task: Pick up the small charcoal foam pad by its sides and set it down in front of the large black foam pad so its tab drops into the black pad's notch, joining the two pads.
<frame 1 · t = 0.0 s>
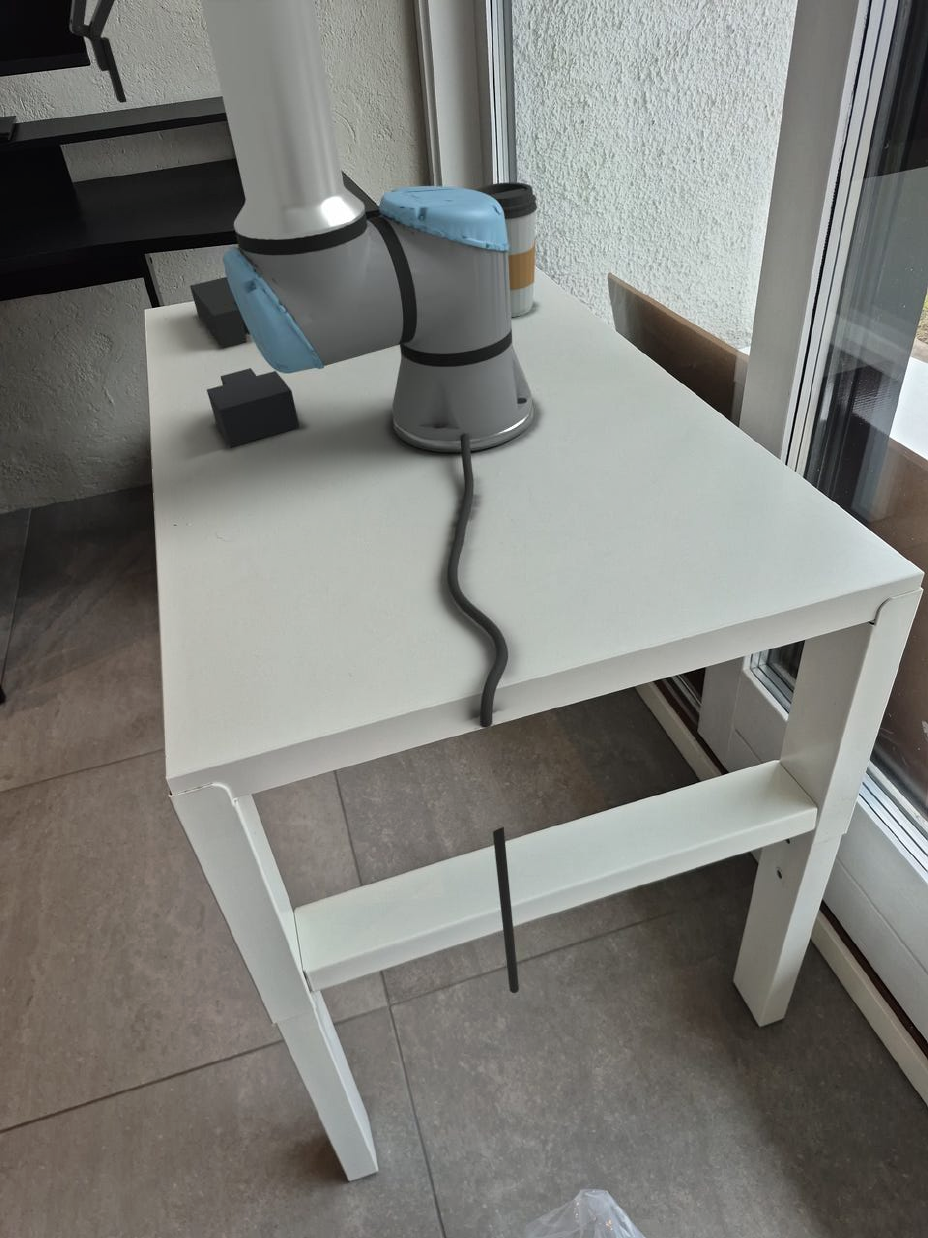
hand: (176, 91, 112), 28 cm above the table, tool pointing down, fingers open, 13 cm apart
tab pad: (258, 426, 102), on the table
coffee cup: (509, 310, 122), on the table
notched pad: (251, 321, 127), on the table
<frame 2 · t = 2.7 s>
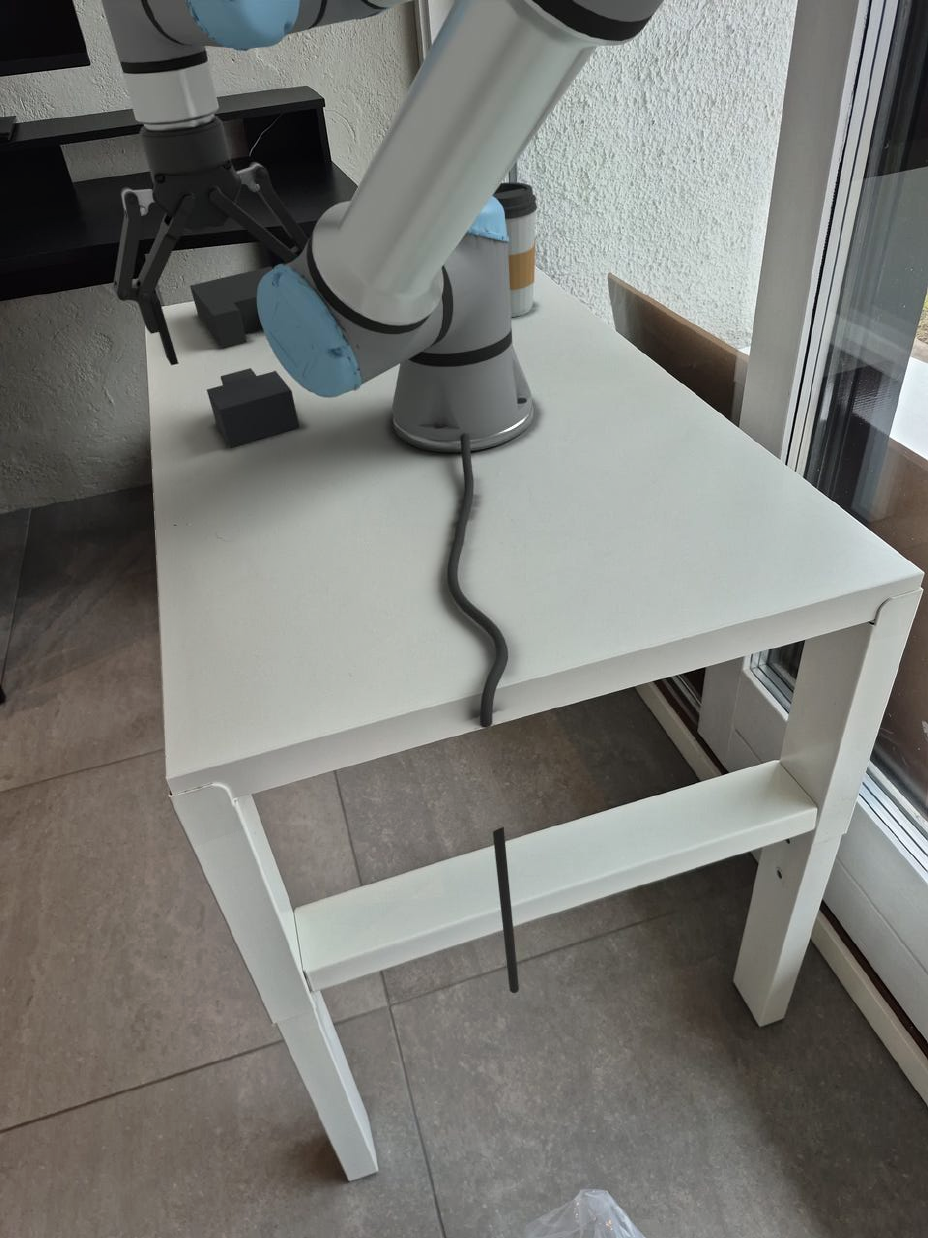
hand: (236, 344, 96), 10 cm above the table, tool pointing down, fingers open, 13 cm apart
nothing on the table moved.
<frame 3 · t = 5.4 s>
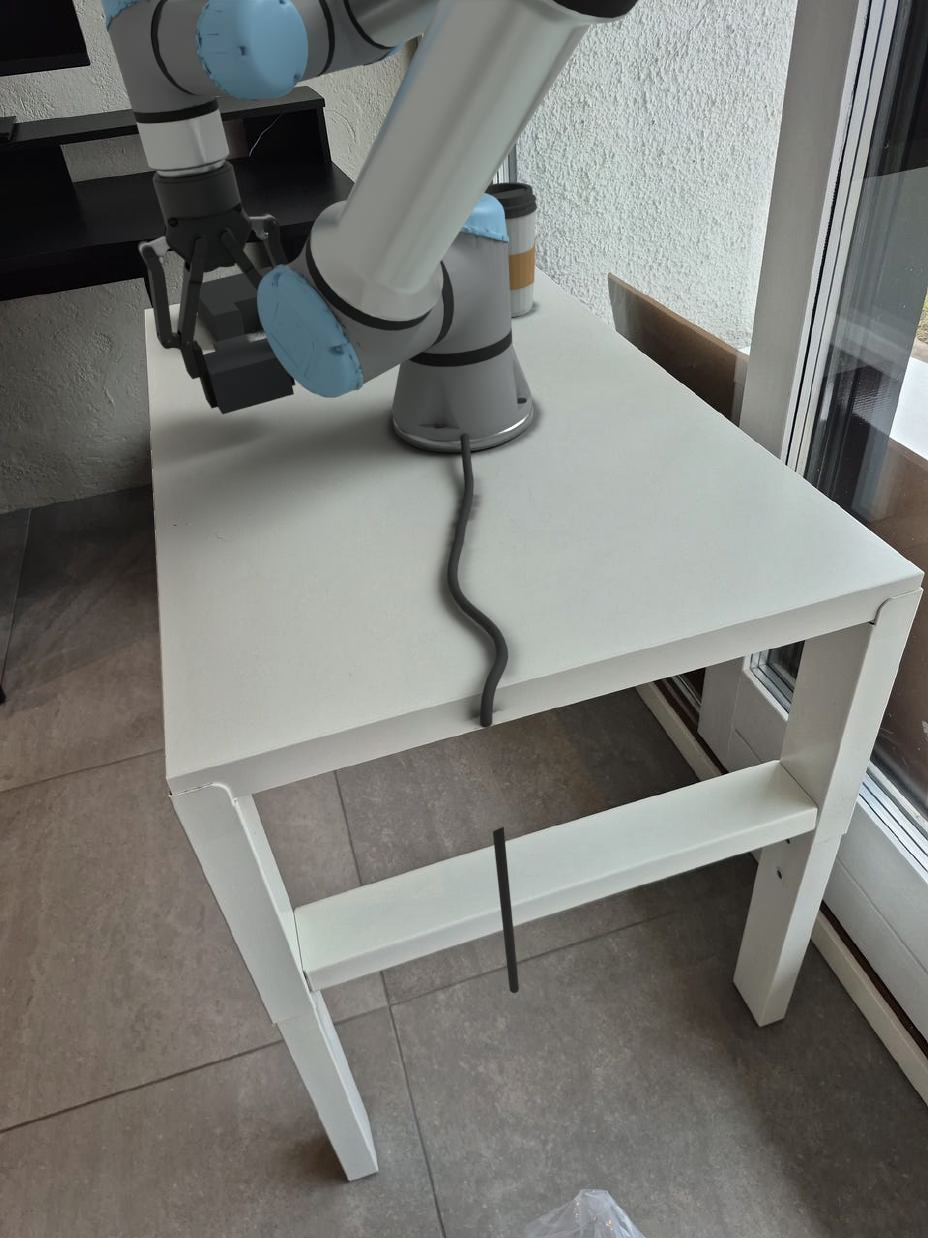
hand: (250, 391, 99), 4 cm above the table, tool pointing down, fingers closed on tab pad, 8 cm apart
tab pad: (251, 394, 99), point 4 cm above the table, touching gripper
everything else where it was.
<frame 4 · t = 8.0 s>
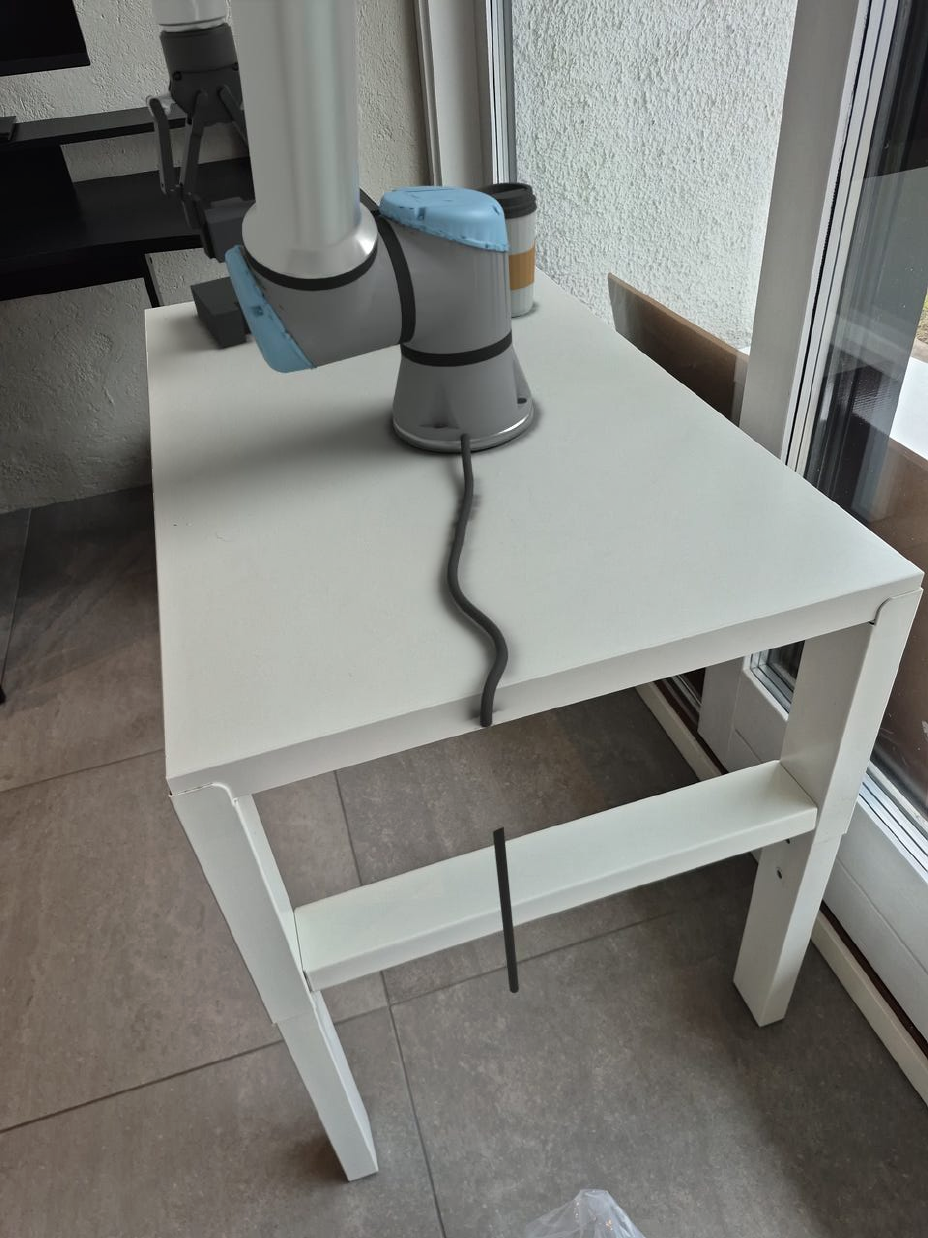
hand: (245, 246, 109), 13 cm above the table, tool pointing down, fingers closed on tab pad, 8 cm apart
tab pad: (245, 249, 109), point 13 cm above the table, touching gripper
everything else where it was.
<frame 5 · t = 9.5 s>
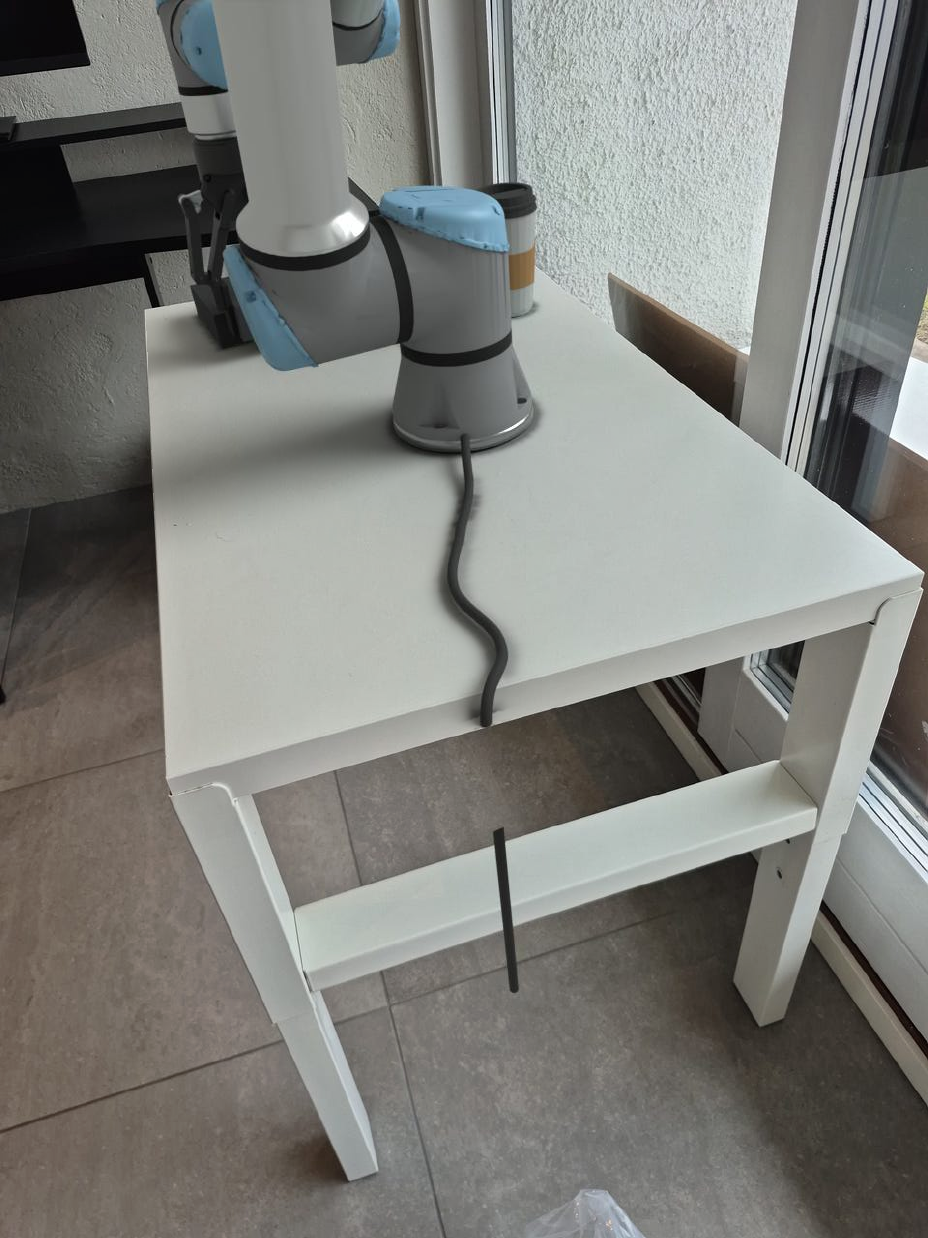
hand: (267, 324, 118), 3 cm above the table, tool pointing down, fingers closed on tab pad, 8 cm apart
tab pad: (267, 326, 118), point 3 cm above the table, touching gripper
everything else where it was.
when the fingers open (0 cm above the table, at t = 10.6 s): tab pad stays where it is, on the table.
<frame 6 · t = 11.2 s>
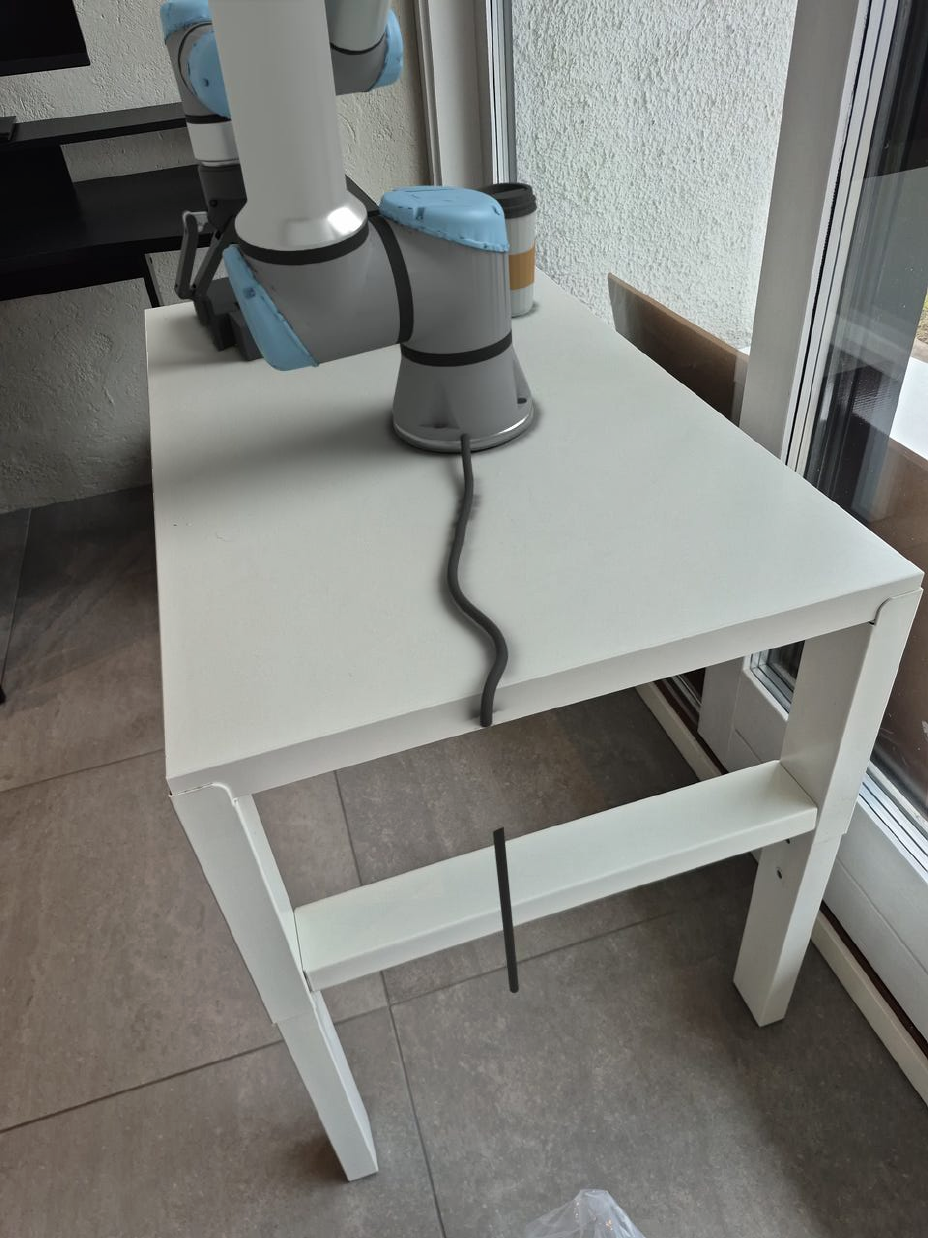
hand: (269, 334, 118), 2 cm above the table, tool pointing down, fingers open, 13 cm apart
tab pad: (271, 345, 119), on the table
everything else where it was.
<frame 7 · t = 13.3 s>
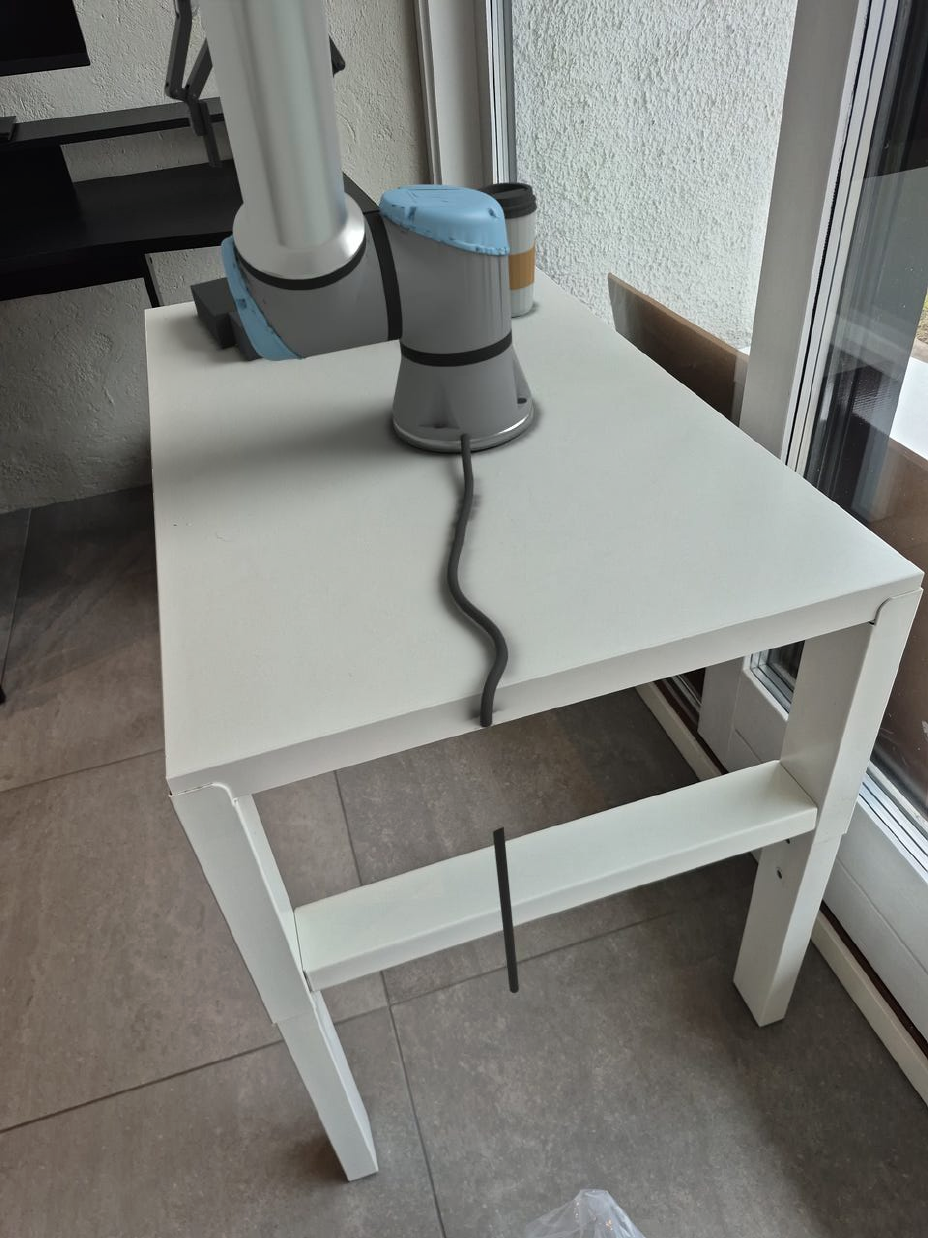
hand: (272, 155, 105), 23 cm above the table, tool pointing down, fingers open, 13 cm apart
nothing on the table moved.
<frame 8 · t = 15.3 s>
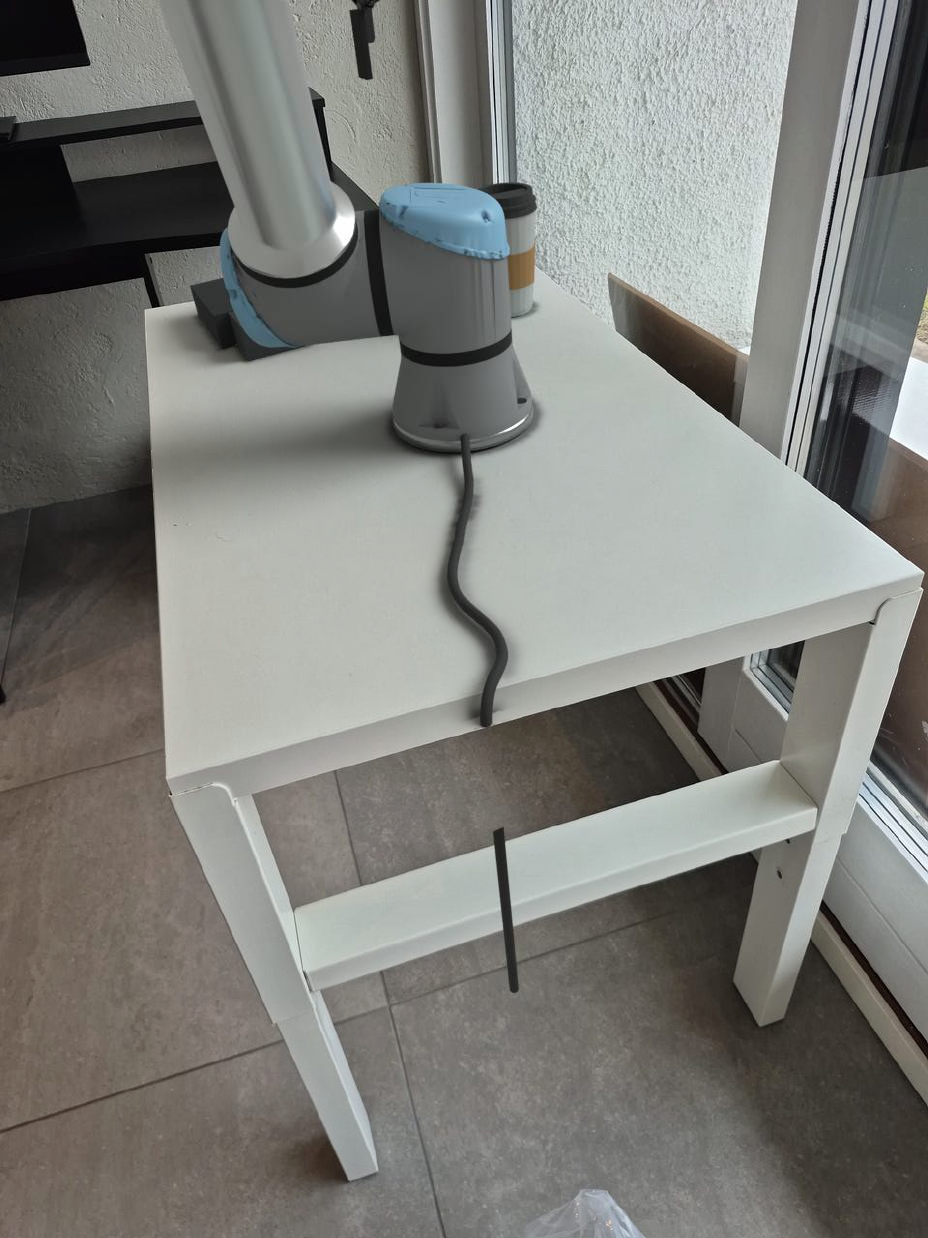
hand: (309, 88, 101), 29 cm above the table, tool pointing down, fingers open, 13 cm apart
nothing on the table moved.
at the end: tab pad 0.4 cm from the target spot on the table beside the notched pad, on the table; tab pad tilted 0°; the gripper is holding nothing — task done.
